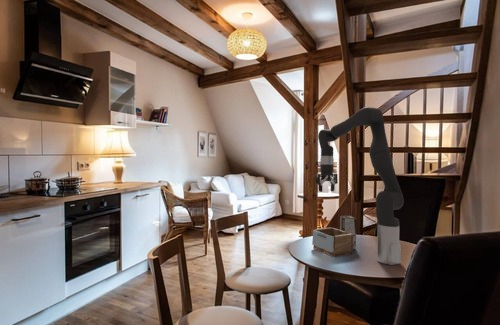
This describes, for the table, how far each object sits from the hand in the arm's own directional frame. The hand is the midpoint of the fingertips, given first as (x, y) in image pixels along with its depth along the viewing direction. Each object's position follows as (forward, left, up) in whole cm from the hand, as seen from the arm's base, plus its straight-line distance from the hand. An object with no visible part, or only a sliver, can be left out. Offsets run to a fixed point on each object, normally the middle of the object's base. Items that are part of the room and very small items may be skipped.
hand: (326, 191), depth 185 cm
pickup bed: (-20, +12, -28) cm, 36 cm away
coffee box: (-17, -1, -28) cm, 33 cm away
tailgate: (-20, +19, -26) cm, 38 cm away
